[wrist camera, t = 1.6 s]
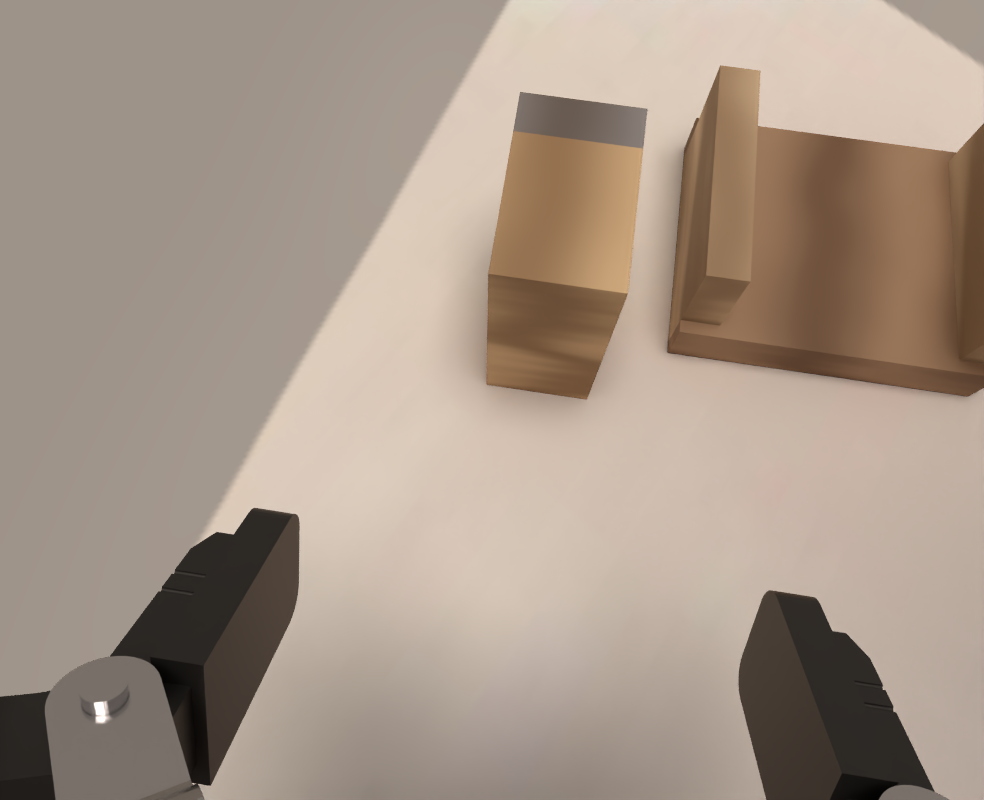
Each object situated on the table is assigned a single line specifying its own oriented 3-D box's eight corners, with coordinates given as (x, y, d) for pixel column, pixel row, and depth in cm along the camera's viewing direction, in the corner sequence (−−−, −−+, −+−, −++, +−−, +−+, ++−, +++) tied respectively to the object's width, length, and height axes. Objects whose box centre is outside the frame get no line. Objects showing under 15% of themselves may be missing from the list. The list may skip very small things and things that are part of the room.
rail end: (603, 256, 32) (647, 109, 24) (586, 399, 30) (627, 293, 22) (510, 243, 32) (520, 92, 24) (486, 384, 30) (488, 273, 22)
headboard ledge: (956, 185, 34) (1042, 97, 28) (968, 396, 30) (1069, 340, 25) (684, 148, 34) (721, 55, 29) (667, 352, 31) (705, 288, 26)
